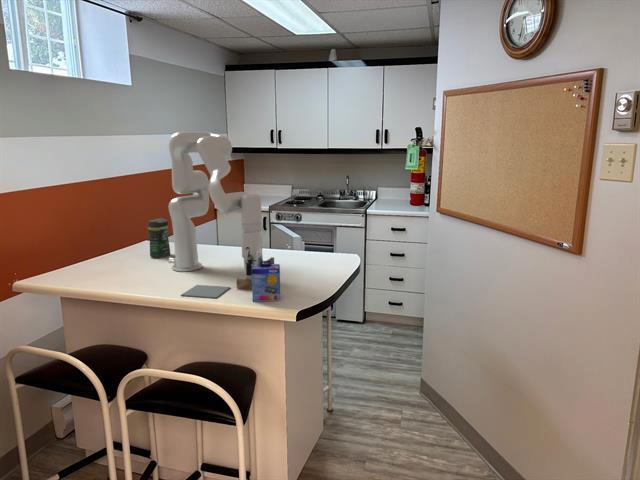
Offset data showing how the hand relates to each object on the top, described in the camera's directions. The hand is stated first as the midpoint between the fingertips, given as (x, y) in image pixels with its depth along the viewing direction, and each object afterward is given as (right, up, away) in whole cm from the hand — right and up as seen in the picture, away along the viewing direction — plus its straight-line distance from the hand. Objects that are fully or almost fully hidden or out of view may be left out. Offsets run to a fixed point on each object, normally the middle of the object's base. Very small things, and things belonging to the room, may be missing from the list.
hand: (253, 272), depth 181 cm
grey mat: (-17, -7, -6) cm, 19 cm away
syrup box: (0, -5, +1) cm, 5 cm away
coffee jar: (-53, +4, +49) cm, 72 cm away
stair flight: (0, -5, +1) cm, 5 cm away
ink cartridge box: (+7, -9, -15) cm, 18 cm away
